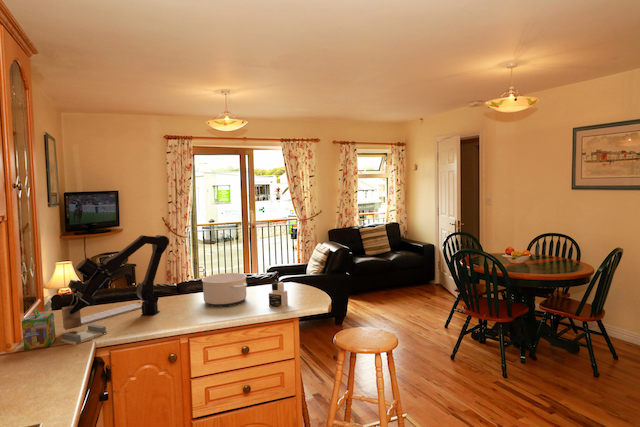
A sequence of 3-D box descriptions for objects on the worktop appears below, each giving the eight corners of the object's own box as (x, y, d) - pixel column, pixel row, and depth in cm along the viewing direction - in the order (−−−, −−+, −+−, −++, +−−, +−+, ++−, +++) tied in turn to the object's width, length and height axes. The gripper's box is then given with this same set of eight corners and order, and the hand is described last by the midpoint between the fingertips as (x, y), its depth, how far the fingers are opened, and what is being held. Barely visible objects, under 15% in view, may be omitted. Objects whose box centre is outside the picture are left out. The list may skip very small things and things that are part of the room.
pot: (262, 302, 213) (261, 277, 213) (225, 314, 196) (223, 286, 195) (226, 293, 236) (224, 269, 235) (189, 302, 219) (187, 277, 218)
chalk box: (50, 346, 162) (47, 310, 161) (23, 350, 159) (20, 313, 158) (56, 338, 170) (54, 304, 169) (30, 342, 167) (27, 307, 166)
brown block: (79, 324, 182) (77, 304, 181) (81, 326, 179) (79, 306, 178) (63, 327, 178) (61, 307, 177) (65, 330, 175) (63, 309, 174)
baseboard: (70, 321, 195) (82, 326, 188) (70, 315, 194) (81, 320, 187) (132, 305, 219) (144, 308, 212) (132, 299, 219) (144, 303, 212)
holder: (93, 330, 179) (93, 323, 179) (107, 333, 175) (106, 326, 175) (61, 341, 167) (60, 334, 166) (74, 344, 163) (74, 337, 162)
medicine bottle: (269, 307, 205) (267, 283, 204) (275, 303, 211) (274, 280, 211) (281, 308, 202) (280, 284, 201) (288, 304, 209) (287, 281, 208)
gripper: (75, 269, 187) (48, 298, 180) (84, 275, 173) (56, 307, 166) (95, 283, 192) (70, 311, 186) (106, 289, 179) (80, 320, 172)
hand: (69, 312), depth 177 cm, fingers closed on brown block, 4 cm apart
